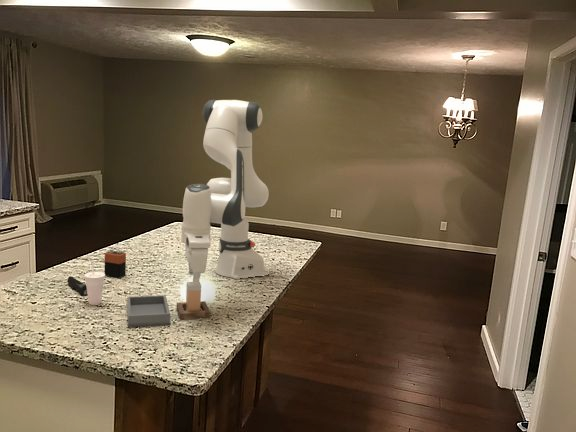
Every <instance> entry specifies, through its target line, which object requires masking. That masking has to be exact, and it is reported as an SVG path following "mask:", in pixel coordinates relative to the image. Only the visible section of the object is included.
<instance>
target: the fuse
mask: <svg viewBox="0 0 576 432" xmlns="http://www.w3.org/2000/svg"><path fill="white" fill-rule="evenodd" d="M185 292H186V295H185V297H186V299H185V302H186V310H185V312H187V311H201V309H200V304H201V301H202V298H201V297H202V284H201V282H200V281H199V284H194V283H193V281H187V282H186V291H185Z"/></svg>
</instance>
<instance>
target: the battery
mask: <svg viewBox="0 0 576 432" xmlns="http://www.w3.org/2000/svg"><path fill="white" fill-rule="evenodd" d="M126 260H127V253H126V252H123V251H122V250H114V249H109V250H108V251H107V252H105V253H104V273H105V277H110V278H115V279H116V278H117V279H120V278H122V277H125V276H126V274H127V273H126V270H127V269H126V268H127V266H126V265H127V263H126V262H127V261H126Z"/></svg>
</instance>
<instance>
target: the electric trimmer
mask: <svg viewBox="0 0 576 432" xmlns="http://www.w3.org/2000/svg"><path fill="white" fill-rule="evenodd" d="M67 284H68V285H69V287H70V288H71V289H73V290H76V291H78V292H79V294H80V296H81V297H88V294H87V287H86V283H85V284H84V283H83V282H81V281H80V280H78V279H77V278H74V277H73V276H72V275H71V276H68V278H67Z"/></svg>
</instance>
